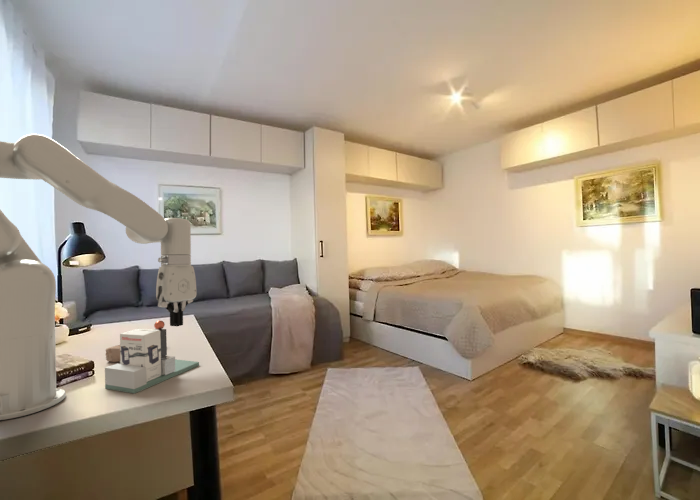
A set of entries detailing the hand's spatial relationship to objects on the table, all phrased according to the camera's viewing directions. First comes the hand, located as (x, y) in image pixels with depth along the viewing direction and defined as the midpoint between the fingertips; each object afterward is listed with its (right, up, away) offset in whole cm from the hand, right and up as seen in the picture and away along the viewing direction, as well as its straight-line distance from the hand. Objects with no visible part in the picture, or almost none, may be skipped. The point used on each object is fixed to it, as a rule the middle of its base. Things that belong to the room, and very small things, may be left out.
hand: (176, 325), depth 90 cm
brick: (-21, -13, +14) cm, 28 cm away
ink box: (-3, -11, -10) cm, 15 cm away
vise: (-2, -12, -7) cm, 14 cm away
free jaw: (-2, -11, -6) cm, 12 cm away
